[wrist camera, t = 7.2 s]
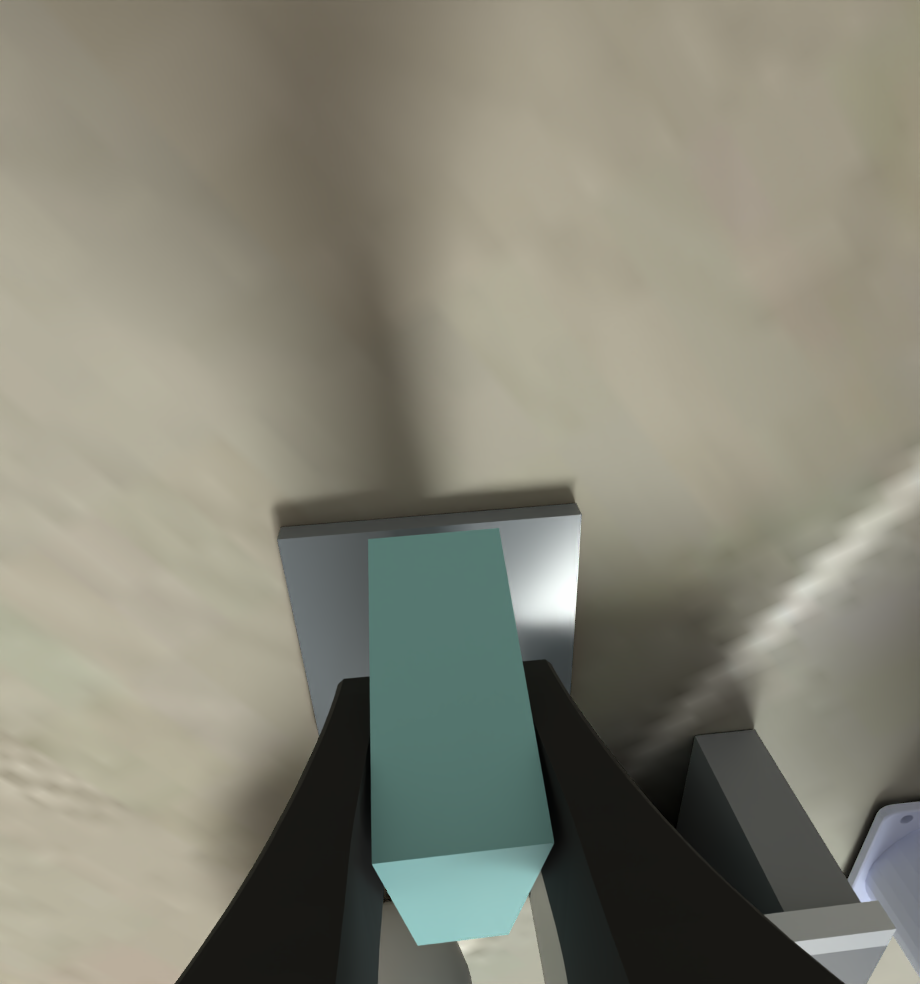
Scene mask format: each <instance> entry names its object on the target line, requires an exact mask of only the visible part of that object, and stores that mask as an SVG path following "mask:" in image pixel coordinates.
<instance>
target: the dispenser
mask: <svg viewBox="0 0 920 984" xmlns="http://www.w3.org/2000/svg"><path fill="white" fill-rule="evenodd" d="M676 830H677V831H678V833H679V834H680V835H681V836H682V837H683V838H684V839H685V840H686V841H687V842H688V843H689V844H690V845H691V846H692V847H693V848H694V849H695V850H696V851H697V852H698V853H699V854H700V855H701V856H702V857H703V858H704V859H705V860H706V861H707V862H708V863H709V864H710V865H711V866H712V867H713V868H714V869H715V870H716V871H717V872H718V873H719V874H720V875H721V876H722V877H723V878H724V879H725V880H726V881H727V882H728V883H729V884H730V885H731V886H732V887H733V888H735V889H736V890H737V891H738V892H739V893H740V894H741V895H742V896H743V897H745V898H746V899H747V900H748V901H749V902H750V903H751V904H752V905H754V906H755V907H756V908H757V909H758V910H759V911H760V912H761V913H762V914H764V915H765V916H766V917H767V918H768V919H769V920H770V921H771V922H772V923H774V924H775V925H776V926H777V927H778V928H779V929H780V930H781V931H782V932H784V933H785V934H786V935H787V936H788V937H789V938H790V939H791V940H793V941H794V942H795V943H796V944H797V945H799V946H800V947H801V948H802V949H803V950H805V951H806V952H807V953H808V954H810V955H811V956H812V957H813V958H814V959H816V960H817V961H818V962H819V963H820V964H822V965H823V966H824V967H825V968H826V969H828V970H829V971H830V972H831V973H833V974H834V975H835V976H836V977H837V978H839V979H840V980H841V981H843V982H844V983H845V984H867V982H868V980H869V978H870V976H871V975H872V973H873V971H874V969H875V967H876V966H877V964H878V962H879V960H880V958H881V956H882V955H883V953H884V951H885V949H886V947H887V945H888V944H889V942H890V940H891V938H892V936H893V934H894V933H895V931H896V927H895V926H894V924H893V923H892V921H891V920H890V918H889V916H888V915H887V913H886V912H885V910H884V909H883V907H882V906H881V904H880V902H879V901H870V902H862V903H861V902H860V900H859V898H858V897H857V895H856V893H855V892H854V890H853V888H852V887H851V885H850V884H849V882H848V880H847V879H846V877H845V875H844V874H843V872H842V871H841V869H840V867H839V866H838V864H837V862H836V861H835V859H834V858H833V856H832V854H831V853H830V851H829V849H828V848H827V846H826V845H825V843H824V841H823V840H822V838H821V836H820V835H819V833H818V831H817V830H816V828H815V827H814V825H813V823H812V822H811V820H810V818H809V817H808V815H807V814H806V812H805V810H804V809H803V807H802V805H801V804H800V802H799V801H798V799H797V797H796V796H795V794H794V792H793V791H792V789H791V788H790V786H789V784H788V783H787V781H786V779H785V778H784V776H783V774H782V773H781V771H780V770H779V768H778V766H777V765H776V763H775V761H774V760H773V758H772V757H771V755H770V753H769V752H768V750H767V748H766V747H765V745H764V744H763V742H762V740H761V739H760V737H759V735H758V734H757V732H756V731H755V730H745V731H736V732H726V733H717V734H707V735H698V736H695V738H694V743H693V748H692V753H691V758H690V763H689V768H688V773H687V777H686V782H685V787H684V792H683V797H682V802H681V807H680V812H679V817H678V821H677V826H676ZM530 903H531V909H532V914H533V920H534V925H535V931H536V937H537V942H538V948H539V953H540V959H541V964H542V970H543V975H544V981H545V984H568V982H567V977H566V972H565V966H564V961H563V956H562V951H561V947H560V943H559V938H558V934H557V930H556V926H555V922H554V918H553V914H552V911H551V907H550V903H549V900H548V896H547V892H546V888H545V885H544V881H543V877H542V873H541V871H540V873H539V875H538V877H537V879H536V881H535V883H534V885H533V887H532V889H531V891H530Z"/></svg>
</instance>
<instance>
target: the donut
mask: <svg viewBox="0 0 920 984" xmlns="http://www.w3.org/2000/svg"><path fill="white" fill-rule="evenodd" d="M378 984H472V981H471V976H470V972H469V969H468V966H467V963H466V961H465V959H464V956H463V954H462V952H461V949H460V947H459V945H458V942H457V941H452V942H444V943H436V944H428V945H420V946H418V945H417V943H416V942H415V940H414V938H413V936H412V935H411V933H410V931H409V929H408V927H407V926H406V924H405V922H404V920H403V919H402V917H401V915H400V913H399V912H398V910H397V908H396V906H395V904H394V903H393V901H387V902H384V903H383V909H382V922H381V935H380V948H379V970H378Z"/></svg>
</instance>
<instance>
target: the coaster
mask: <svg viewBox="0 0 920 984" xmlns="http://www.w3.org/2000/svg"><path fill="white" fill-rule="evenodd" d="M581 518H582V514H581V512H580V510H579V508H578V506H577V504H576V503H574V504H562V505H549V506H537V507H525V508H512V509H500V510H487V511H475V512H463V513H450V514H438V515H426V516H413V517H401V518H389V519H376V520H364V521H352V522H339V523H327V524H315V525H302V526H290V527H281V528H280V532H279V535H278V539H277V541H278V546H279V550H280V555H281V560H282V564H283V569H284V574H285V578H286V583H287V588H288V592H289V597H290V602H291V606H292V611H293V616H294V621H295V625H296V630H297V635H298V639H299V644H300V649H301V653H302V658H303V663H304V667H305V672H306V677H307V681H308V686H309V691H310V695H311V700H312V705H313V709H314V714H315V719H316V723H317V728H318V733H319V736H320V733H321V731H322V728H323V726H324V723H325V721H326V718H327V716H328V713H329V710H330V708H331V705H332V702H333V699H334V696H335V692H336V689H337V686H338V684H339V683H340V682H341V681H342V680H343V679H346V678H357V677H367V676H370V664H369V577H368V539H375V538H387V537H399V536H411V535H423V534H435V533H446V532H458V531H470V530H482V529H494V528H499V531H500V537H501V543H502V548H503V554H504V560H505V565H506V571H507V577H508V582H509V588H510V594H511V599H512V605H513V611H514V616H515V622H516V628H517V634H518V639H519V645H520V651H521V656H522V661H532V660H542V659H546V660H547V661H548V662H550V663H551V664H552V666H553V668H554V670H555V671H556V673H557V675H558V677H559V678H560V680H561V682H562V683H563V685H564V687H565V688H566V690H567V691H568V693H569V694H570V692H571V676H572V661H573V645H574V629H575V613H576V597H577V581H578V565H579V549H580V534H581Z"/></svg>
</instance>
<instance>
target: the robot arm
mask: <svg viewBox="0 0 920 984" xmlns="http://www.w3.org/2000/svg"><path fill="white" fill-rule="evenodd" d="M522 662H523V668H524V673H525V679H526V685H527V690H528V696H529V702H530V707H531V713H532V719H533V724H534V730H535V736H536V741H537V747H538V753H539V758H540V764H541V770H542V775H543V781H544V787H545V792H546V798H547V804H548V809H549V815H550V821H551V826H552V832H553V838H554V845H553V847H552V849H551V851H550V853H549V855H548V857H547V859H546V861H545V863H544V865H543V867H542V869H541V873H542V877H543V881H544V885H545V888H546V892H547V896H548V900H549V903H550V907H551V911H552V914H553V918H554V922H555V926H556V930H557V934H558V938H559V943H560V947H561V951H562V956H563V961H564V966H565V972H566V977H567V982H568V984H845V983H844V982H843V981H841V980H840V979H839V978H837V977H836V976H835V975H834V974H833V973H831V972H830V971H829V970H828V969H826V968H825V967H824V966H823V965H822V964H820V963H819V962H818V961H817V960H816V959H814V958H813V957H812V956H811V955H810V954H808V953H807V952H806V951H805V950H803V949H802V948H801V947H800V946H799V945H797V944H796V943H795V942H794V941H793V940H791V939H790V938H789V937H788V936H787V935H786V934H785V933H784V932H782V931H781V930H780V929H779V928H778V927H777V926H776V925H775V924H774V923H772V922H771V921H770V920H769V919H768V918H767V917H766V916H765V915H764V914H762V913H761V912H760V911H759V910H758V909H757V908H756V907H755V906H754V905H752V904H751V903H750V902H749V901H748V900H747V899H746V898H745V897H743V896H742V895H741V894H740V893H739V892H738V891H737V890H736V889H735V888H733V887H732V886H731V885H730V884H729V883H728V882H727V881H726V880H725V879H724V878H723V877H722V876H721V875H720V874H719V873H718V872H717V871H716V870H715V869H714V868H713V867H712V866H711V865H710V864H709V863H708V862H707V861H706V860H705V859H704V858H703V857H702V856H701V855H700V854H699V853H698V852H697V851H696V850H695V849H694V848H693V847H692V846H691V845H690V844H689V843H688V842H687V841H686V840H685V839H684V838H683V837H682V836H681V835H680V834H679V833H678V831H677V830H676V829H675V828H674V827H673V826H672V825H671V824H670V823H669V822H668V821H667V820H666V818H665V817H664V816H663V815H662V814H661V813H660V812H659V811H658V809H657V808H656V807H655V806H654V805H653V804H652V803H651V802H650V800H649V799H648V798H647V797H646V796H645V794H644V793H643V792H642V791H641V790H640V788H639V787H638V786H637V785H636V784H635V783H634V781H633V780H632V779H631V778H630V777H629V775H628V774H627V773H626V772H625V770H624V769H623V768H622V767H621V765H620V764H619V763H618V762H617V760H616V759H615V758H614V756H613V755H612V754H611V752H610V751H609V750H608V748H607V747H606V746H605V744H604V743H603V742H602V740H601V739H600V738H599V736H598V735H597V734H596V732H595V731H594V730H593V728H592V727H591V725H590V724H589V723H588V721H587V720H586V718H585V717H584V715H583V714H582V712H581V711H580V710H579V708H578V707H577V705H576V704H575V702H574V701H573V699H572V698H571V696H570V694H569V693H568V691H567V690H566V688H565V687H564V685H563V683H562V682H561V680H560V678H559V677H558V675H557V673H556V671H555V670H554V668H553V666H552V664H551V663H550V662H548V661H547V660H546V659H542V660H532V661H522ZM847 880H848V882H849V884H850V885H851V887H852V888H853V890H854V892H855V893H856V895H857V897H858V898H859V900H860V902H861V903H862V902H870V901H879V902H880V904H881V906H882V907H883V909H884V910H885V912H886V913H887V915H888V916H889V918H890V920H891V921H892V923H893V924H894V926H895V927H896V931H895V933H894V934H893V936H894V938H895V939H896V941H897V943H898V944H899V946H900V947H901V949H902V950H903V952H904V954H905V955H906V957H907V958H908V960H909V962H910V963H911V965H912V966H913V968H914V970H915V971H916V973H917V974H918V976H919V978H920V801H917V802H908V803H899V804H891V805H887V806H884V807H882V808H881V809H880V810H879V811H878V812H877V814H876V817H875V819H874V821H873V823H872V826H871V828H870V830H869V832H868V835H867V837H866V839H865V841H864V844H863V846H862V848H861V850H860V852H859V855H858V857H857V859H856V861H855V864H854V866H853V868H852V870H851V873H850V875H849V877H848V879H847ZM383 896H384V885H383V883H382V881H381V880H380V878H379V876H378V874H377V872H376V871H375V869H374V867H373V865H372V839H371V752H370V676H367V677H357V678H346V679H343V680H342V681H341V682H340V683H339V684H338V686H337V689H336V692H335V696H334V699H333V702H332V705H331V708H330V710H329V713H328V716H327V718H326V721H325V723H324V726H323V728H322V731H321V733H320V736H319V738H318V740H317V743H316V745H315V748H314V750H313V752H312V754H311V756H310V758H309V761H308V763H307V765H306V767H305V769H304V771H303V774H302V776H301V778H300V780H299V782H298V784H297V786H296V788H295V790H294V792H293V794H292V796H291V798H290V800H289V802H288V804H287V806H286V808H285V810H284V811H283V813H282V815H281V817H280V819H279V821H278V823H277V825H276V826H275V828H274V830H273V832H272V834H271V836H270V838H269V840H268V841H267V843H266V845H265V847H264V848H263V850H262V852H261V854H260V855H259V857H258V859H257V860H256V862H255V864H254V866H253V867H252V869H251V871H250V872H249V874H248V876H247V877H246V879H245V880H244V882H243V884H242V885H241V887H240V888H239V890H238V892H237V893H236V895H235V896H234V898H233V900H232V901H231V903H230V904H229V906H228V907H227V909H226V910H225V912H224V913H223V915H222V916H221V918H220V919H219V921H218V922H217V924H216V925H215V927H214V928H213V930H212V931H211V933H210V934H209V936H208V937H207V939H206V940H205V942H204V943H203V944H202V946H201V947H200V949H199V950H198V952H197V953H196V955H195V956H194V958H193V959H192V960H191V962H190V963H189V965H188V966H187V967H186V969H185V970H184V972H183V973H182V974H181V976H180V977H179V978H178V980H177V981H176V983H175V984H378V970H379V948H380V935H381V922H382V909H383Z"/></svg>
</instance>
